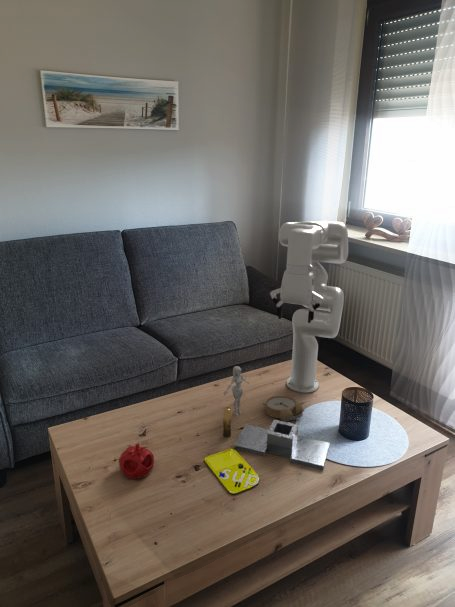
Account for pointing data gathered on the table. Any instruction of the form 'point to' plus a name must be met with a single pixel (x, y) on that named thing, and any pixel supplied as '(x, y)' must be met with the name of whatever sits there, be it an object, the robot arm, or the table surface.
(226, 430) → the hinge pin
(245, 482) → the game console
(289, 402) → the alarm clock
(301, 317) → the robot arm
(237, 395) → the human figurine
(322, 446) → the hinge frame
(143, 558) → the table surface
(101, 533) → the table surface
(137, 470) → the pomegranate
